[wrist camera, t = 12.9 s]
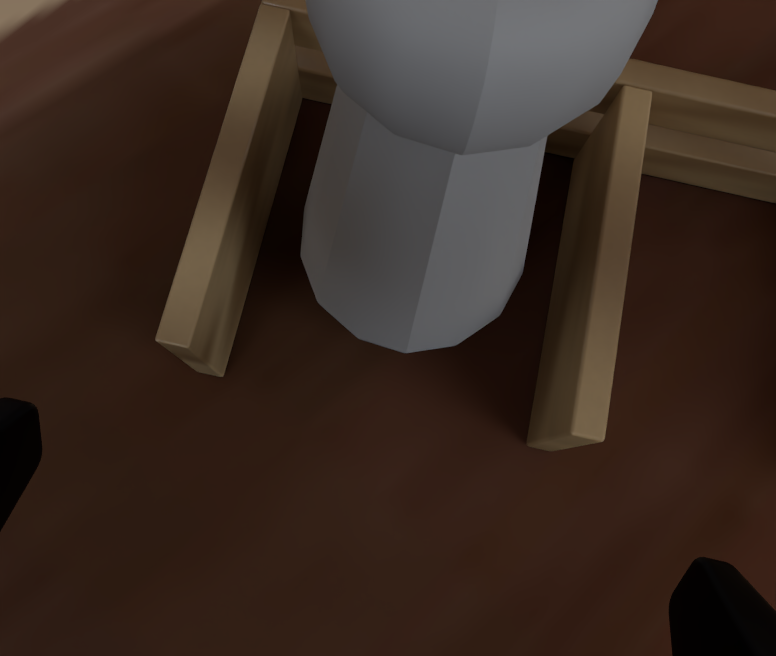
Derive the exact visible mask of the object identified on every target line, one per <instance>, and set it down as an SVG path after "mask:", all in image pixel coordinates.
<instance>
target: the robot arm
mask: <svg viewBox="0 0 776 656" xmlns="http://www.w3.org/2000/svg"><path fill="white" fill-rule="evenodd" d="M41 456H42V441H41V432H40V422H39V414H38V409H37V408H36V406H35V405H34V404H32V403H30V402H26V401H21V400H17V399H13V398H0V531H1V529H2V528H3V526H4V524H5V523H6V521H7V519H8V517H9V516H10V514H11V512H12V510H13V509H14V507H15V505H16V503H17V502H18V500H19V498H20V497H21V495H22V493H23V491H24V490H25V488H26V486H27V484H28V483H29V481H30V479H31V477H32V476H33V474H34V472H35V471H36V469H37V467H38V465H39V462H40V460H41ZM669 621H670V632H671V643H672V655H673V656H776V611H775V610H774V609H773V608H772V607H771V606H770V605H769V603H768V602H767V601H766V600H765V599H764V598H763V597H762V596H761V595H760V594H759V593H758V592H757V591H756V590H755V588H754V587H753V586H752V585H751V584H750V583H749V582H748V581H747V580H746V579H745V578H744V577H743V576H742V575H741V573H740V572H739V571H738V570H737V569H736V568H735V567H734V566H732V565H731V564H729V563H727V562H723V561H719V560H715V559H710V558H706V557H699V558H697V559H695V560H694V561H693V562H692V564H691V565H690V567H689V568H688V570H687V571H686V573H685V574H684V576H683V578H682V579H681V581H680V582H679V584H678V585H677V587H676V589H675V590H674V592H673V594H672V596H671V599H670V603H669Z"/></svg>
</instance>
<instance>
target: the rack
mask: <svg viewBox="0 0 776 656" xmlns="http://www.w3.org/2000/svg"><path fill="white" fill-rule="evenodd" d="M261 3H262V4H261V5H260V6H259V10H258V13H257V16H256V19H255V22H254V26H253V29H252V32H251V35H250V38H249V41H248V45H247V48H246V51H245V54H244V57H243V61H242V64H241V67H240V70H239V73H238V76H237V80H236V83H235V86H234V89H233V92H232V96H231V99H230V102H229V105H228V108H227V112H226V115H225V118H224V121H223V124H222V127H221V131H220V134H219V137H218V140H217V143H216V147H215V150H214V153H213V156H212V159H211V162H210V166H209V169H208V172H207V175H206V178H205V182H204V185H203V188H202V191H201V194H200V197H199V201H198V204H197V207H196V210H195V213H194V217H193V220H192V223H191V226H190V229H189V232H188V236H187V239H186V242H185V245H184V248H183V252H182V255H181V258H180V261H179V264H178V267H177V271H176V274H175V277H174V280H173V283H172V287H171V290H170V293H169V296H168V299H167V303H166V306H165V309H164V312H163V315H162V318H161V322H160V325H159V328H158V331H157V334H156V338H155V341H157V342H158V343H159V344H161V345H162V346H163V347H165V348H166V349H167V350H169V351H170V352H171V353H173V354H174V355H176V356H177V357H178V358H180V359H181V360H182V361H184V362H185V363H186V364H188V365H189V366H190V367H192V368H193V369H195V370H196V371H197V372H201V373H205V374H209V375H214V376H218V377H223V376H224V373H225V370H226V366H227V363H228V359H229V356H230V352H231V349H232V345H233V342H234V338H235V335H236V331H237V328H238V324H239V321H240V317H241V314H242V310H243V307H244V303H245V300H246V296H247V293H248V289H249V285H250V282H251V278H252V275H253V271H254V268H255V264H256V261H257V257H258V254H259V250H260V247H261V243H262V240H263V236H264V233H265V229H266V226H267V222H268V219H269V215H270V212H271V208H272V204H273V201H274V197H275V194H276V190H277V187H278V183H279V180H280V176H281V173H282V169H283V166H284V162H285V159H286V155H287V152H288V148H289V145H290V141H291V138H292V134H293V131H294V127H295V124H296V120H297V116H298V113H299V109H300V106H301V102H302V98H305V99H310V100H314V101H319V102H323V103H328V104H332V102H333V98H334V94H335V90H336V87H337V83H336V82H335V81H334V78H333V76H332V73H331V71H330V68H329V66H328V64H327V61H326V59H325V56H324V54H323V52H322V49H321V47H320V44H319V42H318V39H317V37H316V35H315V32H314V30H313V27H312V25H311V22H310V20H309V17H308V12H307V7H306V1H305V0H262V1H261ZM545 152H547V153H552V154H556V155H561V156H565V157H570V158H574V161H573V167H572V173H571V179H570V185H569V191H568V197H567V203H566V209H565V215H564V221H563V227H562V233H561V239H560V245H559V251H558V257H557V263H556V269H555V275H554V281H553V287H552V293H551V299H550V305H549V311H548V317H547V323H546V329H545V335H544V341H543V347H542V353H541V359H540V365H539V371H538V377H537V383H536V389H535V395H534V401H533V407H532V413H531V419H530V425H529V431H528V437H527V445H528V446H529V447H533V448H538V449H542V450H546V451H556V450H561V449H567V448H572V447H577V446H582V445H588V444H593V443H598V442H603V441H604V439H605V433H606V426H607V419H608V412H609V404H610V397H611V390H612V383H613V375H614V368H615V361H616V354H617V346H618V339H619V332H620V325H621V318H622V310H623V303H624V296H625V289H626V281H627V274H628V267H629V260H630V252H631V245H632V238H633V231H634V224H635V216H636V209H637V202H638V195H639V187H640V180H641V174H646V175H650V176H655V177H659V178H664V179H668V180H673V181H677V182H682V183H686V184H691V185H695V186H700V187H704V188H709V189H713V190H718V191H722V192H727V193H731V194H736V195H740V196H745V197H749V198H753V199H758V200H762V201H767V202H771V203H776V91H775V90H771V89H766V88H762V87H757V86H753V85H748V84H744V83H739V82H735V81H730V80H726V79H721V78H717V77H712V76H708V75H703V74H699V73H694V72H690V71H685V70H681V69H676V68H672V67H667V66H663V65H658V64H654V63H649V62H645V61H640V60H636V59H631V58H629V60H628V62H627V63H626V65H625V67H624V69H623V71H622V73H621V75H620V76H619V77H618V79H617V80H616V81H615V83H614V84H613V86H612V87H611V88H610V90H609V91H608V92H607V94H606V95H605V96H604V98H603V99H602V101H601V102H600V103H599V104H598V105H596V106H595V107H593V108H591V109H590V110H588V111H586V112H585V113H583V114H582V115H580V116H578V117H577V118H575V119H573V120H572V121H570V122H569V123H567V124H565V125H564V126H562V127H561V128H559V129H557V130H556V131H554V132H552V133H551V134H549V135H548V136H547V141H546V146H545Z"/></svg>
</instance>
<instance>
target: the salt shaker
mask: <svg viewBox="0 0 776 656" xmlns="http://www.w3.org/2000/svg"><path fill="white" fill-rule="evenodd" d="M305 1H306V7H307V12H308V17H309V20H310V22H311V25H312V27H313V30H314V32H315V35H316V37H317V39H318V42H319V44H320V47H321V49H322V52H323V54H324V56H325V59H326V61H327V64H328V66H329V68H330V71H331V73H332V76H333V78H334V81H335V82H336V83H337V87H336V90H335V94H334V98H333V102H332V106H331V109H330V113H329V117H328V121H327V124H326V128H325V132H324V136H323V139H322V143H321V147H320V151H319V154H318V158H317V162H316V166H315V170H314V173H313V177H312V181H311V185H310V188H309V192H308V196H307V200H306V203H305V207H304V218H303V230H302V242H301V254H300V256H301V259H302V262H303V264H304V267H305V270H306V272H307V275H308V278H309V281H310V283H311V286H312V289H313V291H314V294H315V297H316V300H317V302H318V303H319V304H320V305H321V306H322V307H323V308H324V309H325V310H326V311H328V312H329V313H330V314H331V315H332V316H333V317H334V318H335V319H337V320H338V321H339V322H340V323H341V324H342V325H343V326H344V327H346V328H347V329H348V330H349V331H350V332H351V333H352V334H354V335H355V336H356V337H357V338H358V339H361V340H364V341H367V342H370V343H373V344H377V345H380V346H383V347H386V348H390V349H393V350H396V351H399V352H402V353H411V352H418V351H424V350H431V349H438V348H444V347H451V346H455V345H457V344H459V343H461V342H462V341H463V340H465V339H466V338H468V337H469V336H471V335H472V334H474V333H475V332H477V331H478V330H480V329H481V328H483V327H484V326H486V325H487V324H488V323H490V322H491V321H493V320H494V319H496V318H497V317H499V316H500V314H501V313H502V311H503V309H504V307H505V305H506V303H507V301H508V300H509V298H510V296H511V294H512V292H513V290H514V288H515V287H516V285H517V283H518V281H519V279H520V277H521V275H522V274H523V269H524V263H525V257H526V252H527V246H528V241H529V235H530V230H531V224H532V219H533V213H534V207H535V202H536V196H537V191H538V185H539V180H540V174H541V169H542V163H543V158H544V152H545V146H546V141H547V136H548V135H549V134H551V133H552V132H554V131H556V130H557V129H559V128H561V127H562V126H564V125H565V124H567V123H569V122H570V121H572V120H573V119H575V118H577V117H578V116H580V115H582V114H583V113H585V112H586V111H588V110H590V109H591V108H593V107H595V106H596V105H598V104H599V103H600V102H601V101H602V99H603V98H604V96H605V95H606V94H607V92H608V91H609V90H610V88H611V87H612V86H613V84H614V83H615V81H616V80H617V79H618V77H619V76H620V75H621V73H622V71H623V69H624V67H625V65H626V63H627V62H628V60H629V58H630V56H631V54H632V52H633V50H634V48H635V46H636V45H637V43H638V41H639V39H640V37H641V35H642V33H643V31H644V30H645V28H646V26H647V24H648V22H649V20H650V18H651V16H652V14H653V12H654V10H655V7H656V4H657V1H658V0H305Z"/></svg>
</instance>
